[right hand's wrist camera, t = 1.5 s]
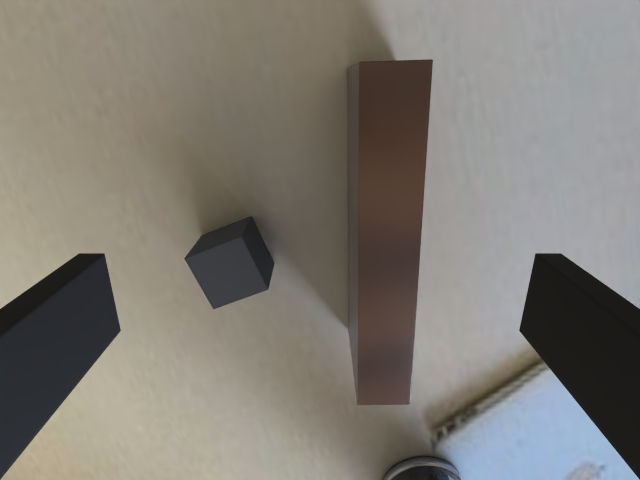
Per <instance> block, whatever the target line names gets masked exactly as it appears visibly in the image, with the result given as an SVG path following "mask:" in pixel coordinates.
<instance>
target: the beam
mask: <svg viewBox="0 0 640 480" xmlns="http://www.w3.org/2000/svg"><path fill="white" fill-rule="evenodd" d="M432 63H433V60H404V61H373V62H359V63H357V64H355V65H353V66H350V67H348V68H347V145H348V330H349V339H350V347H351V355H352V364H353V372H354V380H355V388H356V397H357V405H358V406H364V405H402V404H410V396H411V381H412V366H413V351H414V336H415V320H416V305H417V290H418V275H419V260H420V245H421V230H422V214H423V199H424V184H425V169H426V154H427V139H428V124H429V109H430V93H431V78H432Z"/></svg>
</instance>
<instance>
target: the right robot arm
mask: <svg viewBox="0 0 640 480" xmlns="http://www.w3.org/2000/svg"><path fill="white" fill-rule="evenodd" d="M120 331H121V330H120V325H119V321H118V316H117V311H116V306H115V302H114V297H113V292H112V287H111V283H110V278H109V273H108V268H107V264H106V259H105V254H78V255H76V256H75V257H74V258H72V259H71V260H69V261H68V262H66V263H65V264H64V265H62V266H61V267H59V268H58V269H57V270H55V271H54V272H52V273H51V274H49V275H48V276H47V277H45V278H44V279H42V280H41V281H39V282H38V283H37V284H35V285H34V286H32V287H31V288H30V289H28V290H27V291H25V292H24V293H22V294H21V295H20V296H18V297H17V298H15V299H14V300H13V301H11V302H10V303H8V304H7V305H5V306H4V307H3V308H1V309H0V479H1V478H2V477H3V475H4V474H5V473H6V472H7V471H8V469H9V468H10V467H11V466H12V464H13V463H14V462H15V461H16V459H17V458H18V457H19V456H20V454H21V453H22V452H23V451H24V450H25V448H26V447H27V446H28V445H29V443H30V442H31V441H32V440H33V438H34V437H35V436H36V435H37V433H38V432H39V431H40V430H41V428H42V427H43V426H44V425H45V424H46V422H47V421H48V420H49V419H50V417H51V416H52V415H53V414H54V412H55V411H56V410H57V409H58V407H59V406H60V405H61V404H62V403H63V401H64V400H65V399H66V398H67V396H68V395H69V394H70V393H71V391H72V390H73V389H74V388H75V386H76V385H77V384H78V383H79V381H80V380H81V379H82V378H83V377H84V375H85V374H86V373H87V372H88V370H89V369H90V368H91V367H92V365H93V364H94V363H95V362H96V360H97V359H98V358H99V357H100V356H101V354H102V353H103V352H104V351H105V349H106V348H107V347H108V346H109V344H110V343H111V342H112V341H113V339H114V338H115V337H116V336H117V334H118V333H119V332H120ZM519 331H520V332H521V333H522V334H523V336H524V337H525V338H526V339H527V341H528V342H529V343H530V344H531V346H532V347H533V348H534V349H535V351H536V352H537V353H538V354H539V356H540V357H541V358H542V359H543V360H544V362H545V363H546V364H547V365H548V367H549V368H550V369H551V370H552V372H553V373H554V374H555V375H556V377H557V378H558V379H559V380H560V381H561V383H562V384H563V385H564V386H565V388H566V389H567V390H568V391H569V393H570V394H571V395H572V396H573V398H574V399H575V400H576V401H577V403H578V404H579V405H580V406H581V407H582V409H583V410H584V411H585V412H586V414H587V415H588V416H589V417H590V419H591V420H592V421H593V422H594V424H595V425H596V426H597V427H598V428H599V430H600V431H601V432H602V433H603V435H604V436H605V437H606V438H607V440H608V441H609V442H610V443H611V445H612V446H613V447H614V448H615V450H616V451H617V452H618V453H619V454H620V456H621V457H622V458H623V459H624V461H625V462H626V463H627V464H628V466H629V467H630V468H631V469H632V471H633V472H634V473H635V474H636V475H637V477H638V478H639V479H640V309H639V308H637V307H636V306H635V305H633V304H632V303H630V302H629V301H627V300H626V299H625V298H623V297H622V296H620V295H619V294H618V293H616V292H615V291H613V290H612V289H610V288H609V287H608V286H606V285H605V284H603V283H602V282H601V281H599V280H598V279H596V278H595V277H593V276H592V275H591V274H589V273H588V272H586V271H585V270H583V269H582V268H581V267H579V266H578V265H576V264H575V263H574V262H572V261H571V260H569V259H568V258H566V257H565V256H564V255H562V254H535V259H534V264H533V268H532V273H531V278H530V283H529V287H528V292H527V297H526V302H525V306H524V311H523V316H522V321H521V325H520V330H519Z"/></svg>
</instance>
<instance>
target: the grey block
mask: <svg viewBox="0 0 640 480" xmlns="http://www.w3.org/2000/svg"><path fill="white" fill-rule="evenodd" d="M185 260H186V262H187V264H188V266H189V267H190V269H191V271H192V273H193V274H194V276H195V278H196V279H197V281H198V283H199V285H200V286H201V288H202V290H203V292H204V293H205V295H206V297H207V299H208V300H209V302H210V304H211V306H212V307H213V309H216V308H218V307H221V306H224V305H227V304H229V303H232V302H235V301H238V300H240V299H243V298H246V297H249V296H252V295H254V294H257V293H260V292H263V291H265V290H268V288H269V284H270V280H271V276H272V271H273V267H274V262H273V260H272V258H271V256H270V254H269V252H268V249H267V247H266V245H265V243H264V241H263V239H262V237H261V235H260V233H259V231H258V229H257V227H256V225H255V223H254V221H253V219H252V217H249V218H246V219H243V220H241V221H238V222H236V223H233V224H231V225H228V226H225V227H223V228H220V229H218V230H215V231H213V232H210V233H208V234H205V235H202V236H201V237H200V239H199V240H198V241H197V243H196V244H195V245H194V247H193V248H192V249H191V251H190V252H189V253H188V254H187V256H186V257H185Z"/></svg>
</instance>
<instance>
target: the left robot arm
mask: <svg viewBox="0 0 640 480" xmlns="http://www.w3.org/2000/svg"><path fill="white" fill-rule="evenodd" d="M383 480H461V478H460V475H459V473H458V471H457V470H456V469H455V468H454V467H453V466H452V465H451V464H449V463H448V462H446V461H443V460H441V459H437V458H431V457H419V458H413V459H409V460H406V461H403V462H401V463H399V464H397V465H396V466H394V467H393V468H392V469H391V470H390V471H389V472H388V473H387V474H386V475H385V477H384V479H383Z"/></svg>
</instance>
